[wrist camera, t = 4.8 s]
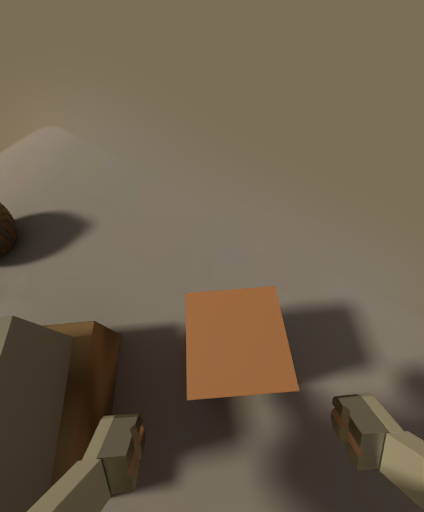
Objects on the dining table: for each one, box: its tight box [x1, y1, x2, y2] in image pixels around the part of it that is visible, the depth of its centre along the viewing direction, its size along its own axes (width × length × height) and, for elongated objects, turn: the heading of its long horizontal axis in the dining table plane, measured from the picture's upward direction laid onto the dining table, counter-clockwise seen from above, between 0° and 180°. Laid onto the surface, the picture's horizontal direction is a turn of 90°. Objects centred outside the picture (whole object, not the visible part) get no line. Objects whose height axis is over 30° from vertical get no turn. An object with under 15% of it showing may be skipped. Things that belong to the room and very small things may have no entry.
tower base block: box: [44, 321, 121, 488], centre depth 15 cm, size 10×10×5 cm
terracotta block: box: [186, 286, 299, 400], centre depth 15 cm, size 5×5×8 cm
